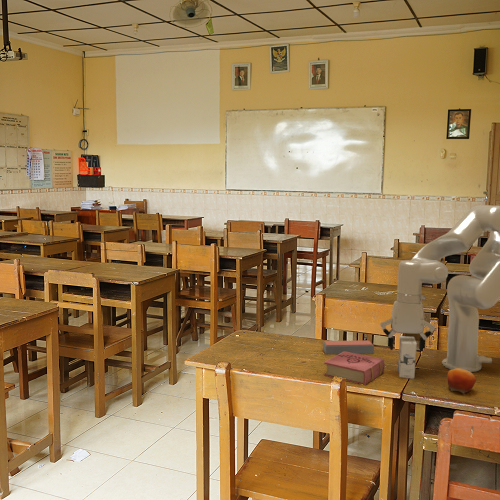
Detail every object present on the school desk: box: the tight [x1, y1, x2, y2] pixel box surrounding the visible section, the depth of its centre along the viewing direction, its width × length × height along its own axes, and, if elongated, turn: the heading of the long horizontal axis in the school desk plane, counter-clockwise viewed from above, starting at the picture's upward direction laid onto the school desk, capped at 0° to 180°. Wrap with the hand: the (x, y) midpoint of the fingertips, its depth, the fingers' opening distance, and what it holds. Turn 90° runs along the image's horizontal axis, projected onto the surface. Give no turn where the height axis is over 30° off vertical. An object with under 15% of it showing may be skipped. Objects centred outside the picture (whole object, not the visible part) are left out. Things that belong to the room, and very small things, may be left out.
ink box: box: [397, 335, 418, 379], centre depth 178 cm, size 9×5×12 cm, turn 168°
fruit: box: [446, 368, 477, 396], centre depth 163 cm, size 8×8×8 cm
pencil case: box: [322, 340, 375, 355], centre depth 202 cm, size 18×6×3 cm, turn 93°
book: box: [323, 351, 385, 386], centre depth 178 cm, size 14×15×5 cm
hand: (406, 349), depth 177 cm, fingers open, 9 cm apart
